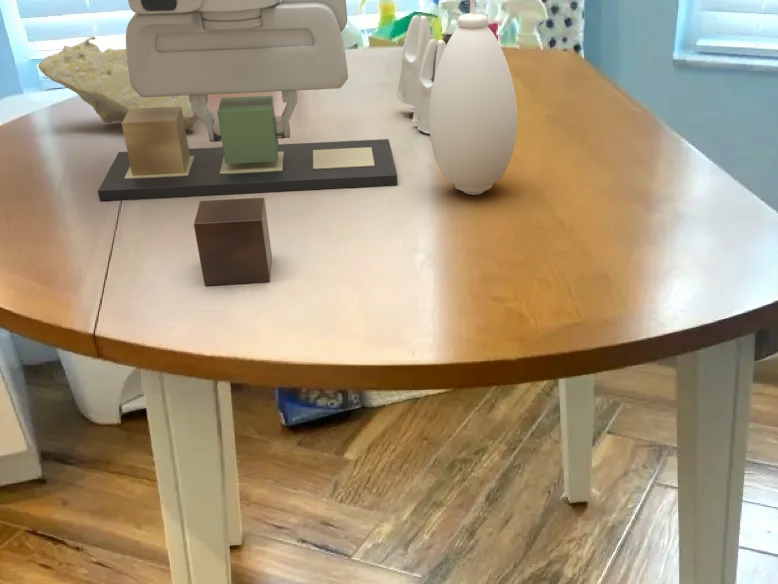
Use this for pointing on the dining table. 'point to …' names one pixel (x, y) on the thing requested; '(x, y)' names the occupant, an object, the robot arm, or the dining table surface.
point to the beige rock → (106, 82)
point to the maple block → (156, 140)
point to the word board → (260, 172)
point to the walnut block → (233, 241)
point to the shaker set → (419, 70)
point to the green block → (248, 129)
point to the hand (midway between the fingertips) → (250, 138)
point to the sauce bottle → (473, 107)
